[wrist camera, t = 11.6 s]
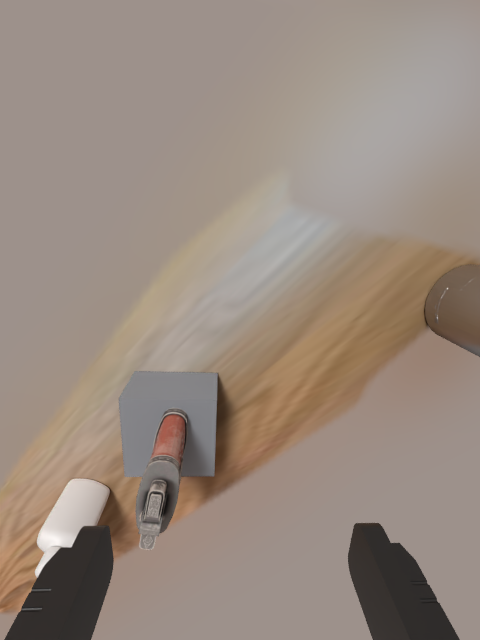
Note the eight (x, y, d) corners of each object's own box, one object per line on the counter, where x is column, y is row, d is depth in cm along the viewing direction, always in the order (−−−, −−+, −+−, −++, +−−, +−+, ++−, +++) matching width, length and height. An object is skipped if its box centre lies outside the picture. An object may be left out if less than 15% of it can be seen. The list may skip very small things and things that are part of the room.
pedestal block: (217, 372, 37) (216, 399, 31) (215, 440, 40) (214, 476, 34) (134, 371, 36) (118, 398, 31) (138, 440, 39) (124, 476, 34)
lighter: (180, 471, 34) (164, 567, 24) (149, 466, 33) (121, 563, 24) (193, 410, 32) (181, 490, 22) (160, 405, 31) (134, 484, 22)
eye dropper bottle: (93, 508, 42) (46, 612, 31) (62, 484, 41) (0, 586, 29) (116, 491, 42) (76, 592, 30) (85, 467, 40) (31, 564, 29)
